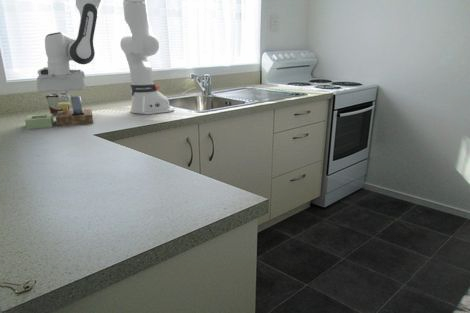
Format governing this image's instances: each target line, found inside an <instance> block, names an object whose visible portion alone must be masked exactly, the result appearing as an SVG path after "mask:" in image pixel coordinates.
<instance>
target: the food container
mask: <svg viewBox="0 0 470 313" xmlns="http://www.w3.org/2000/svg"><path fill="white" fill-rule="evenodd" d="M59 94H60V96H61V97H64V96H65V95H66V93H65V92H60V93H59ZM45 99H46V100H47V105H48V108H49V109H48V110H49V112H50V113H49V114H52V115H57V112H58V111H63V108H62V107H58V103H61V102H70V99H71V96H70V94H69V93H68V95H67V101H60V97H59V96H58V95H57V94H56V92H53V93H45ZM67 109H68V111H69V110H70V106H67Z"/></svg>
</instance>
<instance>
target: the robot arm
mask: <svg viewBox="0 0 470 313" xmlns="http://www.w3.org/2000/svg"><path fill="white" fill-rule="evenodd" d="M102 3H103V0H75V7H76V9H77V10H78V13H79V15H80V19H79V20H80V21H79V27H78V32H77V36H76V39H75V38H73V37H71V36H68V35H66V34H65V33H64V32H61V31H59V32H52V33H49V34H46V35H45V38H44V48H45V55H46V57H47V66H46V67H43V68H40V69H38V70H37V75H38V76H37V77H36V90H37V91H38V92H39V93H42V92H43V93H46V92H55V93H56V94H57V95H58V96H59V97H60V101H67V95H68V94H69V92H70V91H84V90H85V89H86V84H85V80H84V79H85V72H84V71H83V70H81V69H70V61H71V62H74V63H76V64H78V65H87V64H90V63H91V62H92V61H93V60H94V59H95V58H94V57H95V53H96V52H95V47H94V36H95V31H96V30H95V29H96V27H97V26H96V25H97V19H98V17H99V14H100V13H99V12H100V11H101V7H102ZM147 5H148V4H147V0H122V6H123V16H124V21H125V22H126V24H127V25H128V28H129V30H130V33H128V34H126V35H124V36H123V37H122V38H121V39H120V43H119V45H120V48H121V50H122V51H123V54H125V58H126V61H127V65H128V67H129V68H128V69H129V73H130V94H131V106H130V113H133V114H140V115H141V114H142V115H152V114H162V113H168V112H174V111H175V108H174V106H171V105H170V101H169V98H168V97H167V96H166V95H164V94H163V93H161V92H160V91H159V89H160V86H159V85H158V84H156V83H154V77H153V76H154V75H153V68H152V66H151V65H150V63H149V61H148V60H149V59H148V57H151V56H154V55H156V54H157V52H158V51H159V49H160V45H159V44H160V43H159V40H158V39H157V37H156V36H155V34H154V32H153V30H152V27H151V24H150V21H149V16H148V6H147ZM61 92H64V93H66V95H65V96H64V97H61V96H60V94H59V93H61Z"/></svg>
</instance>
